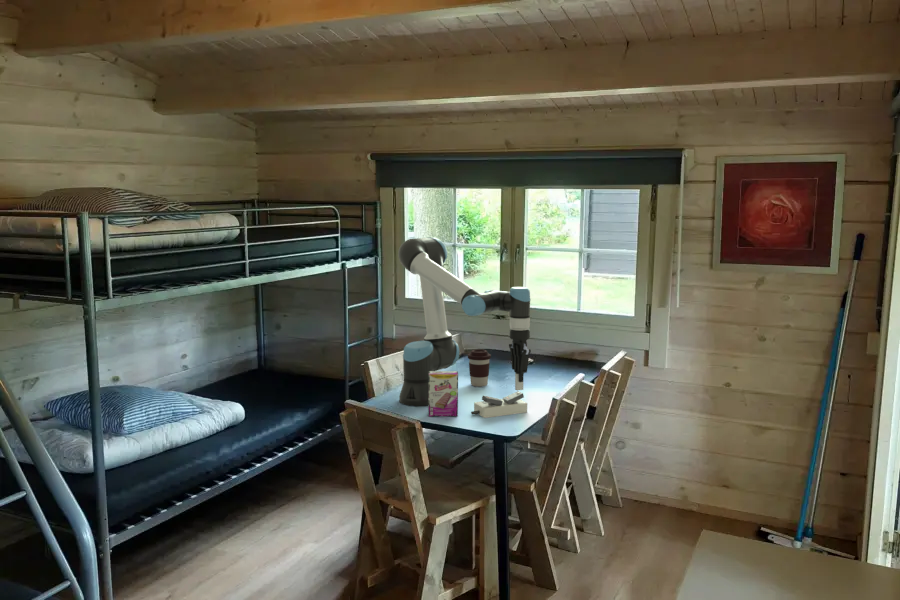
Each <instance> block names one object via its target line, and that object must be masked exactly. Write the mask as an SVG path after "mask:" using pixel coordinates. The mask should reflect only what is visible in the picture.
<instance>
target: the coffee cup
mask: <svg viewBox="0 0 900 600" xmlns="http://www.w3.org/2000/svg"><path fill="white" fill-rule="evenodd" d="M491 358H492V354H491V353H489V352H488V350H486V349H483V348H482V349H479V348H478V349H472V350H471V351H470V353H468V354H467V359H468V361H469V362H468V368H469V369H468V370H469V378H470V379H469V380H470V385H471V386H473V387H480V388H481V387H486V386H488V384H489V381H488V380H489V375H490V359H491Z"/></svg>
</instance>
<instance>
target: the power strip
mask: <svg viewBox="0 0 900 600" xmlns="http://www.w3.org/2000/svg"><path fill="white" fill-rule="evenodd" d="M499 399H500V400H502V401H503V402H502V405H498V404H493V403H488V402H485V401H483V400H482V401H475V402H474V403H473V410H472V411H471V412H470V413H471V415H472V416H473V415H479V416H481V418H484V419H486V418H496V417H503V416H509V415H515V414H523V413H524V414H526V413H528V402H525V401H523V400H522V399H519V400H517V401H515V402H513V403H511V404H507V403H505V402H504V400H503V398H499Z"/></svg>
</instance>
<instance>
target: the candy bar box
mask: <svg viewBox="0 0 900 600" xmlns="http://www.w3.org/2000/svg"><path fill="white" fill-rule="evenodd" d="M427 408H428V409H427V411H428V412H427V413H428V415H427V416H428V417H458V414H459V372H458V371H456V370H453V371H451V370H450V371H449V370H447V371H446V370H444V371H443V370H442V371H441V370H437V371H429V384H428V405H427Z"/></svg>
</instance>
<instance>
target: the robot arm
mask: <svg viewBox="0 0 900 600" xmlns="http://www.w3.org/2000/svg"><path fill="white" fill-rule="evenodd" d="M397 256H398V259H399V262H400V264H401V265H402V267H403V268H404V269H406V270H407V271H408V272H409V273H411V274H412V275H418V276H419V280H420V289H421V295H422V296H421V297H422V304H423V305H422V306H423V313H424V320H425V329H426V334H425V336H424V337H423V340H418V341H417V340H416V341H411V342H408V343H407V344H406V345H405V346H404V347H403V354H402V359H403V360H402V364H403V383H402V387H401V390H400V393H399V403H400V404H402V405H406V406H413V407H423V406H428V384H429V371H441V370H443V369H448V368H450V367H451V366H454V365H455V364H456V363H457V362H458V361H459V358H460V346H459V344H458V343H457V342H456V340H454V339H453V334H452V333H451V332H450V331H449V330H448V323H447V314H446V307H445V299H444V294H445V295H447V296H448V297H450V298H451V299H453V301H455V302H457V303H458V304H460V305H461V309H462V311H463V312H464V314H466V316H469V317H476V316H480V315H485V314H488V313H494V312H498V311H499V312H508V313H509V328H510V329H509V339H510V340H512V342H511V343H509V344H508V347H509V352H510V354H509V355H510V360H511V361H510V363H511V369H512V371H513V372H514V375H515V376H514V377H515V378H514V380H515V381H514V382H515V383H514V387H515V388H514V390H516V391H523V390H524V374H527V373H528V366H529V361H530V355H531V349H530V348H528V342H527V341H528V340H529V339H530V338H531V335H530V334H531V333H530V332H531V330H530V328H531V327H530V326H531V325H530V324H531V318H530V315H531V299H532V298H531V290H530V288H529V287H526V286H512V287H510V289H509V291H504V290H503V291H502V290H496V289H492V290H491V289H487V290H485V291H484V292H482V293H480V292H478V291H477V290H475V288H473V287H471V286H470V285H468V284H467V283H466V282H464V281H462V280H461V279H460V278H458V277H457V276H455V275H454V274H453V273H451V272H449V271H448V270H446V268H444V263H445V262H446V261H447V259H448V249H447V246H446V244H445V243H444V242H443V241H442V240H441V239H440V238H438V237H431V236H429V237H420V238H419V237H418V238H409V239H407V240H405V241H404V242H402V243H401V245H400V247H399V248H398V253H397Z"/></svg>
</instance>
